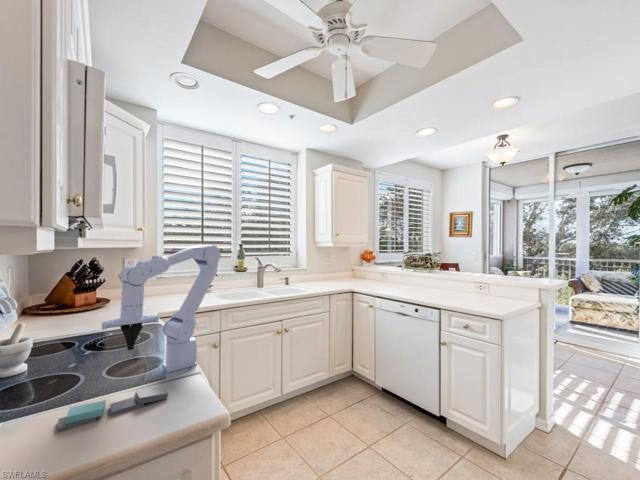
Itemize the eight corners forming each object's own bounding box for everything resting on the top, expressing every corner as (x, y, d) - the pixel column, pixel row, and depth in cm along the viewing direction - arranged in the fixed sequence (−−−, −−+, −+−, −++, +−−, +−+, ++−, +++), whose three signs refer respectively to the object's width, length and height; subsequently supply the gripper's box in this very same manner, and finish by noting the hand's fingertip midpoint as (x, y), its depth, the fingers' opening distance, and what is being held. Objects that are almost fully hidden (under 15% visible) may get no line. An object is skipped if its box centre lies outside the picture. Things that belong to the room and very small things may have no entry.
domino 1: (105, 399, 74) (70, 407, 70) (103, 408, 70) (65, 417, 67) (105, 406, 74) (70, 413, 70) (102, 415, 70) (65, 424, 67)
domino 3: (141, 395, 79) (110, 403, 75) (143, 402, 76) (111, 412, 71) (141, 400, 79) (109, 409, 75) (143, 408, 76) (111, 418, 71)
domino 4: (163, 386, 83) (135, 390, 78) (168, 393, 80) (139, 398, 75) (162, 392, 83) (134, 396, 78) (166, 398, 79) (138, 404, 75)
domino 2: (95, 408, 73) (58, 418, 68) (96, 416, 69) (57, 428, 65) (95, 414, 73) (58, 425, 68) (95, 423, 70) (57, 435, 65)
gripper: (156, 299, 95) (154, 340, 95) (101, 304, 86) (99, 349, 86) (161, 303, 90) (158, 347, 89) (103, 309, 80) (100, 357, 80)
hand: (130, 348), depth 87 cm, fingers closed
